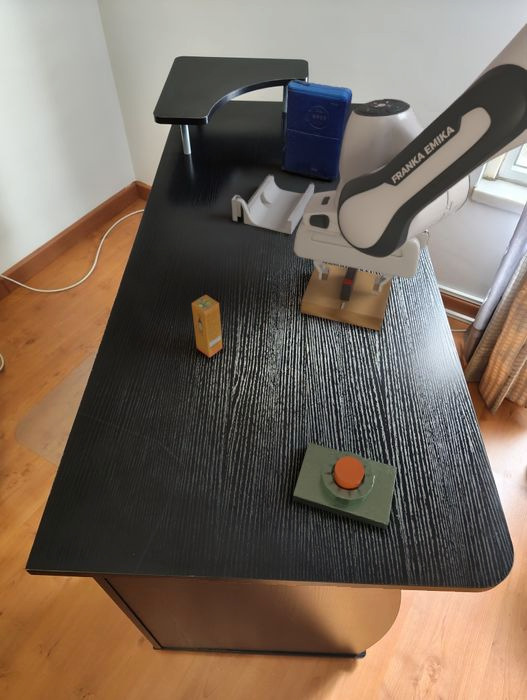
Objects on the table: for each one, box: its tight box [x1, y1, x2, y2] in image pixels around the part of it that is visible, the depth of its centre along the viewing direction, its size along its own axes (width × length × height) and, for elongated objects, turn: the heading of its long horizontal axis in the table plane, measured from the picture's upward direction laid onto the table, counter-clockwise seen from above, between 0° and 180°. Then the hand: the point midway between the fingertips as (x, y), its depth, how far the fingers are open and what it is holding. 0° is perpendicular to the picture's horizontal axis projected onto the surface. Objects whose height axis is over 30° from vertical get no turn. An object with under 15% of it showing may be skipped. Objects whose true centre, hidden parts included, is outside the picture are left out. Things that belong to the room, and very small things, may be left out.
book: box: [281, 79, 353, 181], centre depth 107 cm, size 14×5×20 cm, turn 67°
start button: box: [333, 457, 364, 489], centre depth 60 cm, size 4×4×2 cm
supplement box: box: [191, 294, 224, 358], centre depth 75 cm, size 3×3×10 cm
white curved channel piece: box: [231, 175, 315, 235], centre depth 103 cm, size 15×13×5 cm
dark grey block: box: [340, 267, 359, 301], centre depth 82 cm, size 6×2×4 cm, turn 161°
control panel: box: [300, 262, 393, 331], centre depth 85 cm, size 14×11×3 cm
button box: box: [292, 442, 398, 530], centre depth 62 cm, size 12×8×4 cm, turn 72°
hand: (350, 283), depth 83 cm, fingers open, 8 cm apart
